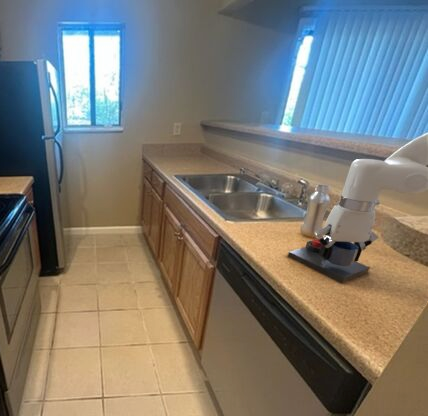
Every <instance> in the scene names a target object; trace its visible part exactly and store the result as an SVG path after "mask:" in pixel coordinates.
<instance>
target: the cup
mask: <svg viewBox="0 0 428 416" xmlns="http://www.w3.org/2000/svg"><path fill="white" fill-rule="evenodd" d="M330 240H331V239H330ZM330 240H328V241H327V243H328V242H329V241H330ZM330 248H331V252H330V255H329V258H328V260H327V261H329V262H330V263H333V264H336V265H340V266H349V265H352V264H353V263H354V260H355V258H356V255H357V252H358V249H359V247H358V246H357V245H355V244H354V242H340V241H336V242H335V243H334V244H333V245H332V246H331V247H330Z"/></svg>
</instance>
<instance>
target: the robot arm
mask: <svg viewBox="0 0 428 416" xmlns="http://www.w3.org/2000/svg"><path fill="white" fill-rule="evenodd" d="M382 190H385V191H391V192H395V193H400V194H409V195H410V194H412V195H413V194H419V193H423V192H426V191H428V132H426V133H424V134H422V135H420V136H418V137H416V138H414V139H412V140H411V141H409V142H408V143H406V144H405V145H403V146H401V148H399V149H398V150H396V151H395V152H394V153H392V154H391V155H390V156H388V157H387V158H385V159H384V160H381V159H373V158H358V159H355V160H353V161H352V162H351V164H350V167H349V170H348V172H347V175H346V180H345V182H344V186H343V188H342V192H341V195H340V197H339V201H338V204H336V205H334V206H333V208H332V209H331V210H330V212H329V214H328V216H327V218H326V221H325V223H324V224H323V225H324V226H323V227H322V229H321V230H319V231H317V232H315V233H314V234H315V236H316V237H315V238H316V239H317V240H318V241H319V242H320V243H321V244H322V246H321V249H320V252H319V255H320V256H321V257H322V258H323V259H325V260H328V258H329V255H330V252H331V248H330V247H331V246H332V245H333V244H334V243H335V242H336V241H340V242H351V243H354V244H355V245H357V246H358V247H359V249H358V252H357V255H356V258H355V260H354V261H356V262H359V260H360V257H361V254H362V252H363V251H365V250H366V248H367V247H369V246H370V245H372V243H373V242H375V241H376V240H377V239H378V238H379V236H378V234H376V233H375V232H374V231H373V228H374V226H375V225H374V224H375V220H376V210H375V208H376V206H379V205H380V204H381V201H380V200H379V197H380V195H381V192H382ZM330 239H331V240H330ZM328 240H330V241H329V242H328V243H327V241H328Z"/></svg>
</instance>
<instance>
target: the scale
mask: <svg viewBox="0 0 428 416" xmlns="http://www.w3.org/2000/svg"><path fill="white" fill-rule="evenodd" d="M312 242H313V240H308V241H306V245H305V246H303V247H300V248H298V249H297V248H296V249H293V250H290V251H288V254H287V257H288V258H290V259H291V260H294V261H296V262H298V263H300V264H302V265H303V266H306V267H307V268H309V269H312V270H313V271H316V272H318V273H319V274H322V275H324V276H327V277H328V278H330V279H332V280H334V281H335V282H338V283H340V284H344V283H346V282H349V281H351V280H353V279H356V278H358V277H361V276H363V275H366V274H367V273H368V274H369V270H370V266H368V265H366V264H363V263H361V262H359V261H354V263H353V264H352V265H349V266H340V265H336V264H333V263H330V262H329V261H327V260H325V259H323V258H322V257H321V256H320V255H319V252H320V249H321V247H315V246H313V245H312Z"/></svg>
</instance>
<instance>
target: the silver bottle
mask: <svg viewBox="0 0 428 416" xmlns="http://www.w3.org/2000/svg"><path fill="white" fill-rule="evenodd" d="M314 190H315V191H314V192H313V193H311V194H310V195H309V196H308V198H307V206H306V213H305V217H304V219H303V222H302V223H301V225H300V233H301V234H302V235H304V236H305V237H309V238H317V237H316V236H315V234H314V233H315V232H317V231H319V230H321V229H323V225H324V218H325V215H326V212H327V210H328V208H329V206H330V203H331V198H330V196H329V192H330V186H329V185H327V184H317V185H316V186H315V189H314Z"/></svg>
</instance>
